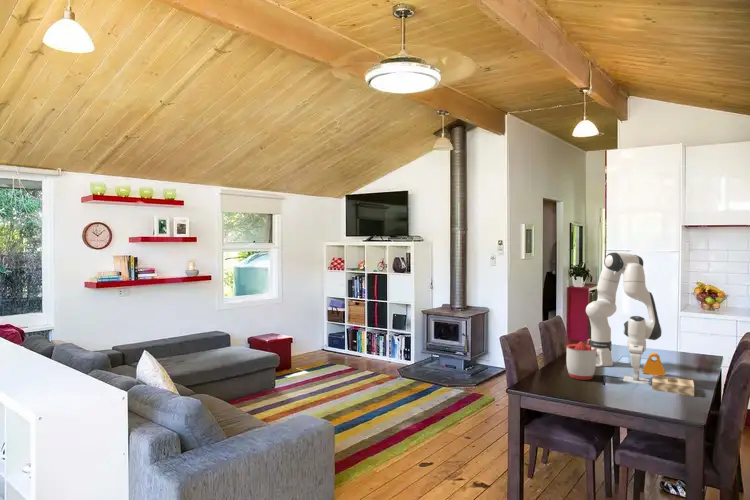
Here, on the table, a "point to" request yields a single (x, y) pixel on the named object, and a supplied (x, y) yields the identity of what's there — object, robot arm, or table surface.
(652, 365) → the bracket
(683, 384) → the oak hole block
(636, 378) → the steel pin
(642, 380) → the rubber mat
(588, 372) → the citrus juicer
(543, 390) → the table surface
